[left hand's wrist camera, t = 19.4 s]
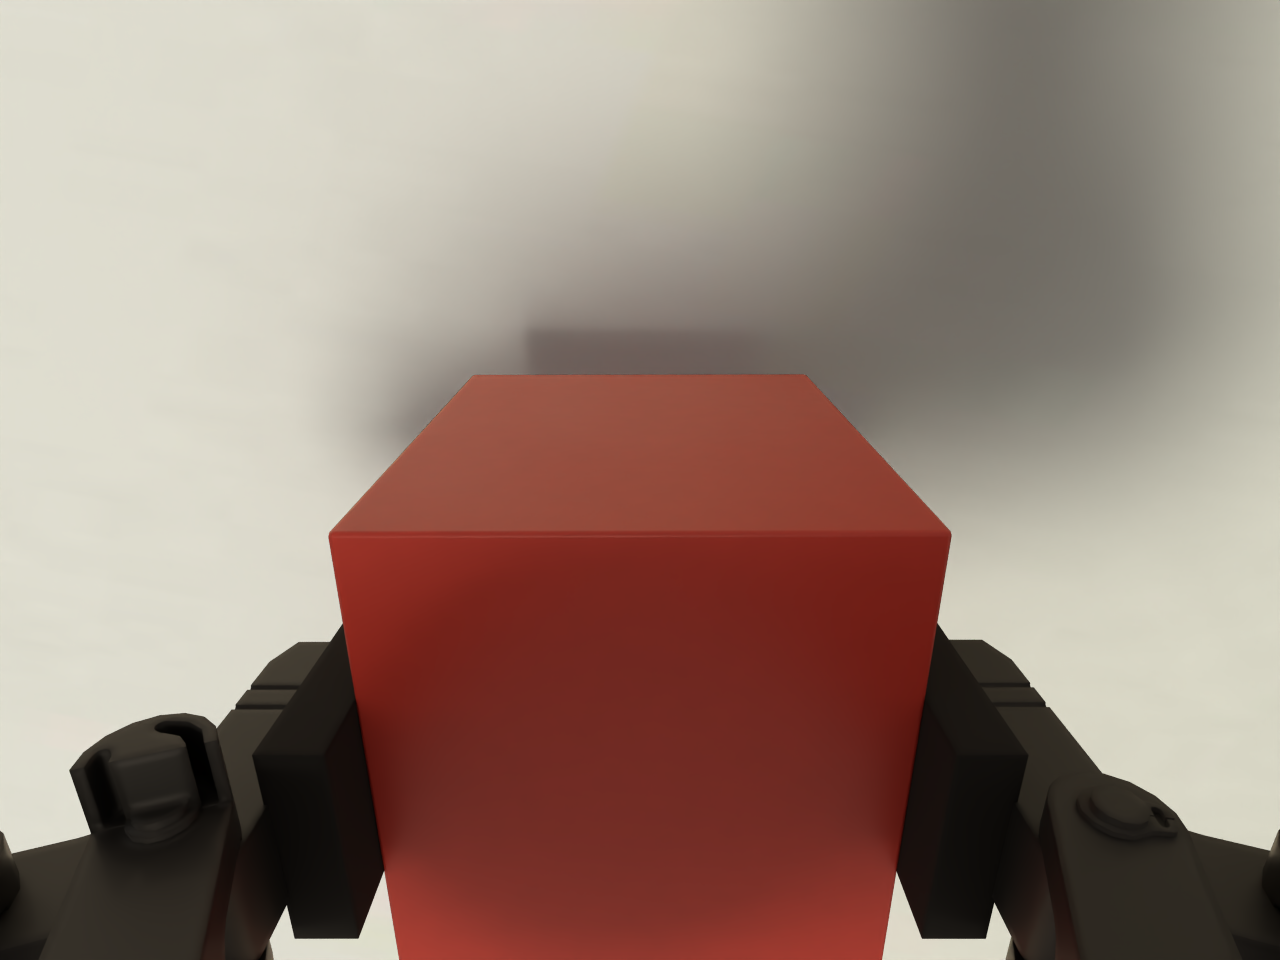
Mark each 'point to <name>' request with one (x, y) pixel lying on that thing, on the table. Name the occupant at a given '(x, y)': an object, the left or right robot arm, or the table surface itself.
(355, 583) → the block
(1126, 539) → the table surface
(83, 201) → the table surface
